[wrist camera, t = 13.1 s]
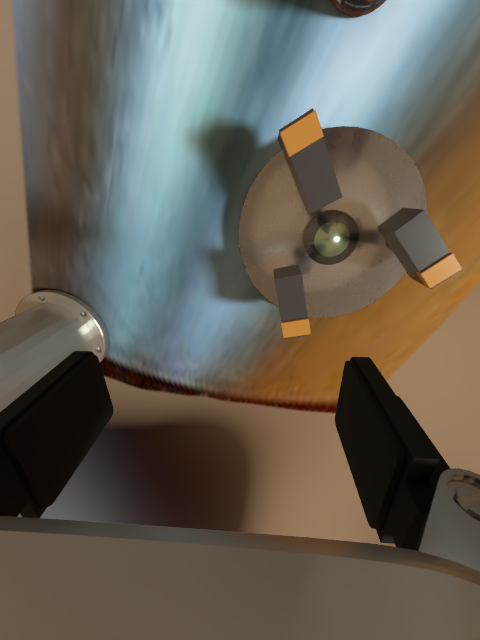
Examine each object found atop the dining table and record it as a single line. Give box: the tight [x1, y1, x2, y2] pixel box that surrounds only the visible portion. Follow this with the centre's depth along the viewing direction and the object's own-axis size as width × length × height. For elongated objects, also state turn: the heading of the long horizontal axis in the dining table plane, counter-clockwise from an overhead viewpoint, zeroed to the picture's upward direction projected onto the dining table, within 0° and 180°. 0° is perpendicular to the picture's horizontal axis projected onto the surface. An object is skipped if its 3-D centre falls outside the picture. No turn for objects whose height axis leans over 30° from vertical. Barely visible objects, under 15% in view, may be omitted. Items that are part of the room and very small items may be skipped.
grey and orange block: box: [377, 208, 462, 289], centre depth 23 cm, size 6×2×6 cm, turn 42°
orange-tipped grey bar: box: [278, 109, 343, 213], centre depth 21 cm, size 6×2×6 cm, turn 28°
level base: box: [238, 126, 427, 318], centre depth 26 cm, size 18×18×4 cm
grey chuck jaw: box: [273, 264, 311, 339], centre depth 26 cm, size 6×2×6 cm, turn 13°
